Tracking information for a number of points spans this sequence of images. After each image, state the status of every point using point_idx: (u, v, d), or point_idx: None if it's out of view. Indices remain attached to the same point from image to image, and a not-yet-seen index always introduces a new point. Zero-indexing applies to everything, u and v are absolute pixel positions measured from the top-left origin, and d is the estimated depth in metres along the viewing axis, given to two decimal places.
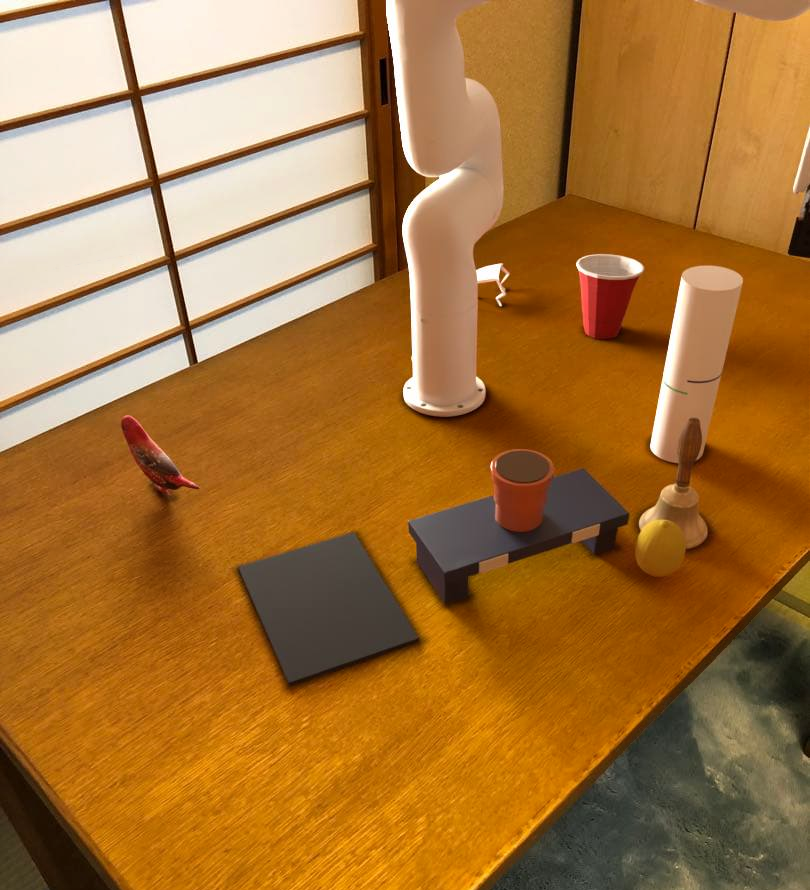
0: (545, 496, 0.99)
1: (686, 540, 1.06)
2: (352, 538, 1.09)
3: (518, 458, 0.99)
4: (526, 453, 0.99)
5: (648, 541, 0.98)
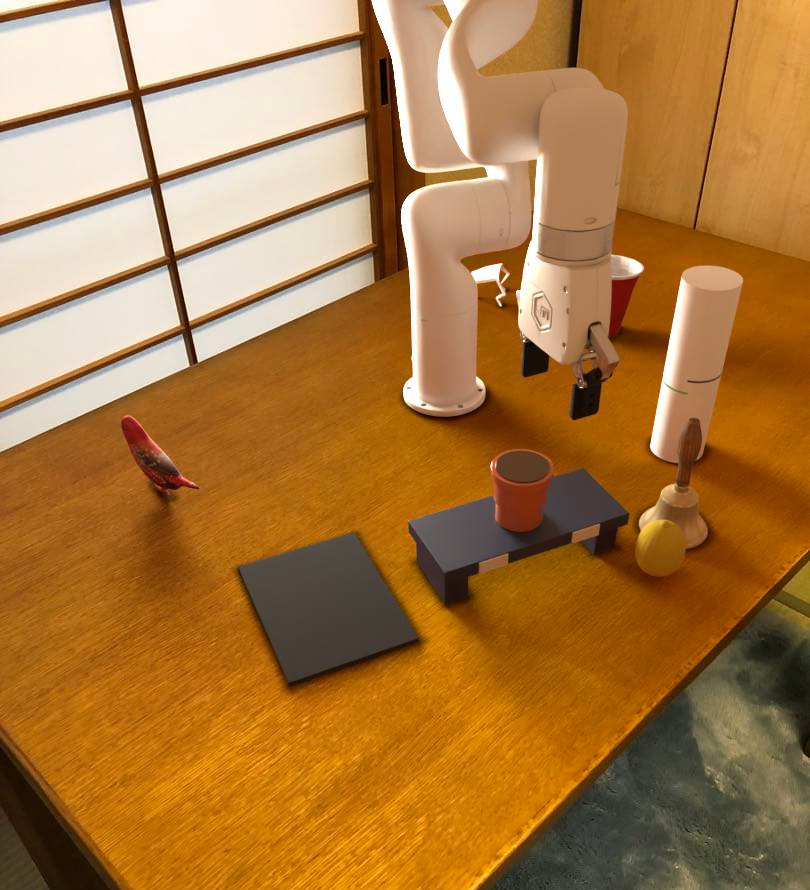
0: (545, 496, 0.99)
1: (686, 540, 1.06)
2: (352, 538, 1.09)
3: (518, 458, 0.99)
4: (526, 453, 0.99)
5: (648, 541, 0.98)
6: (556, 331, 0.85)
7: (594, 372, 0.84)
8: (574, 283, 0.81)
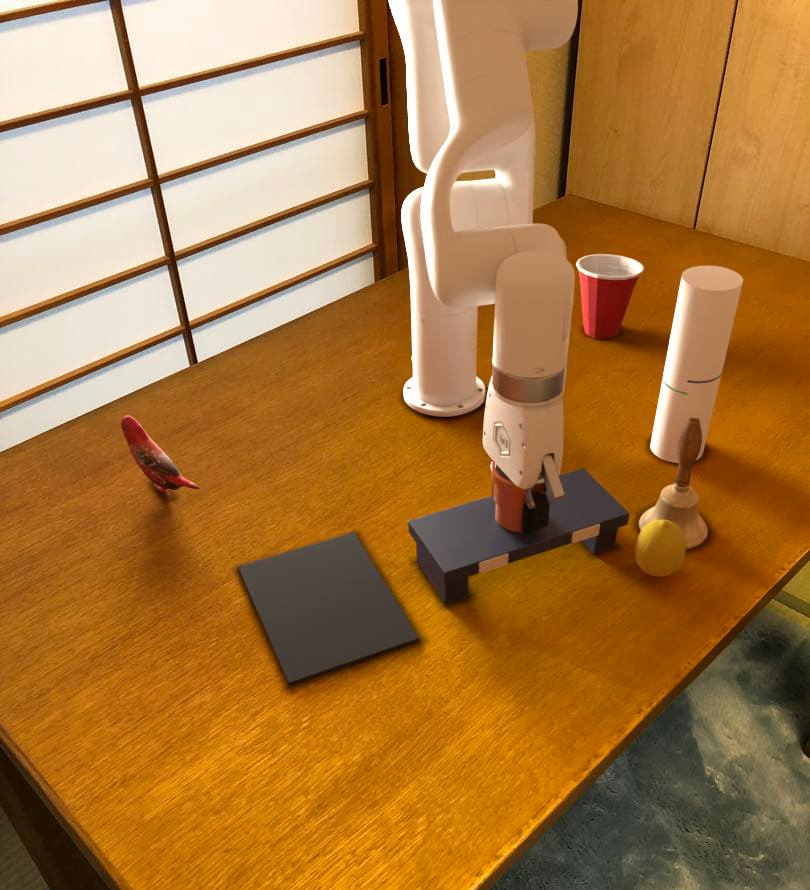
0: None
1: (686, 540, 1.06)
2: (352, 538, 1.09)
3: None
4: None
5: (648, 541, 0.98)
6: (514, 459, 0.93)
7: (540, 497, 0.94)
8: (528, 422, 0.88)
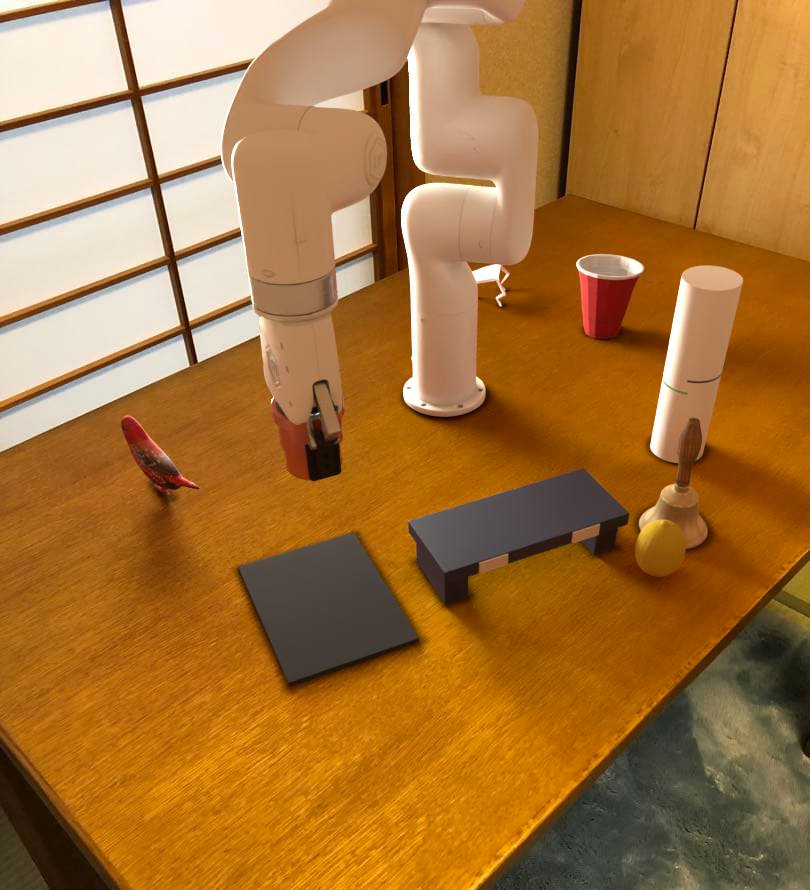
0: None
1: (686, 540, 1.06)
2: (352, 538, 1.09)
3: None
4: None
5: (648, 541, 0.98)
6: (283, 389, 0.78)
7: (317, 434, 0.79)
8: (288, 340, 0.74)
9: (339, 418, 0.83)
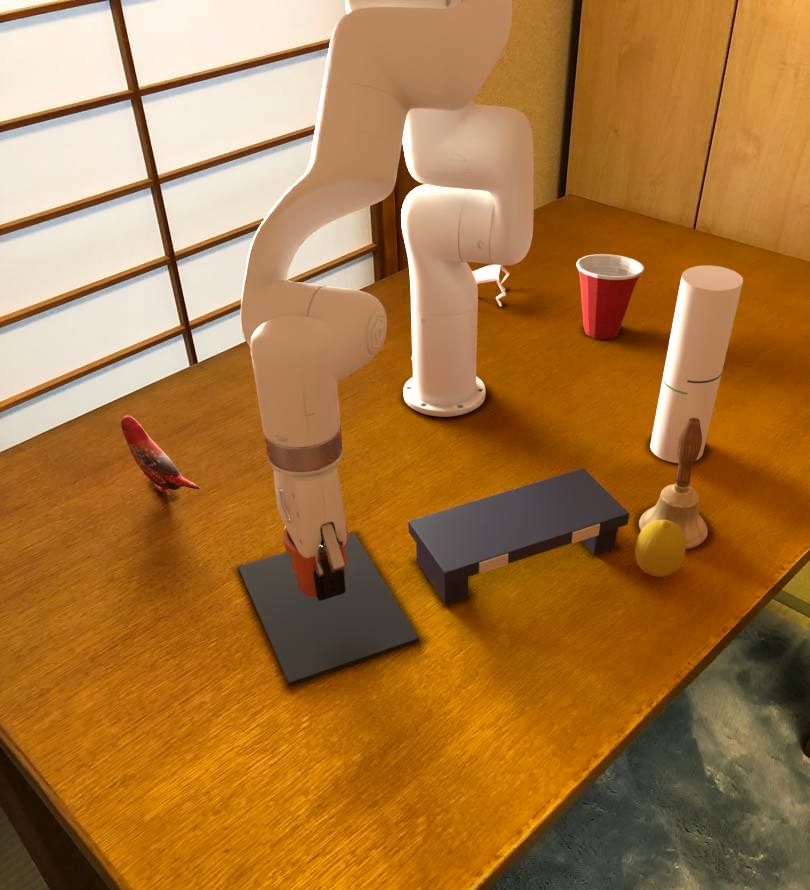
0: None
1: (686, 540, 1.06)
2: (352, 538, 1.09)
3: None
4: None
5: (648, 541, 0.98)
6: (294, 527, 0.89)
7: (324, 566, 0.90)
8: (298, 492, 0.84)
9: (343, 547, 0.93)
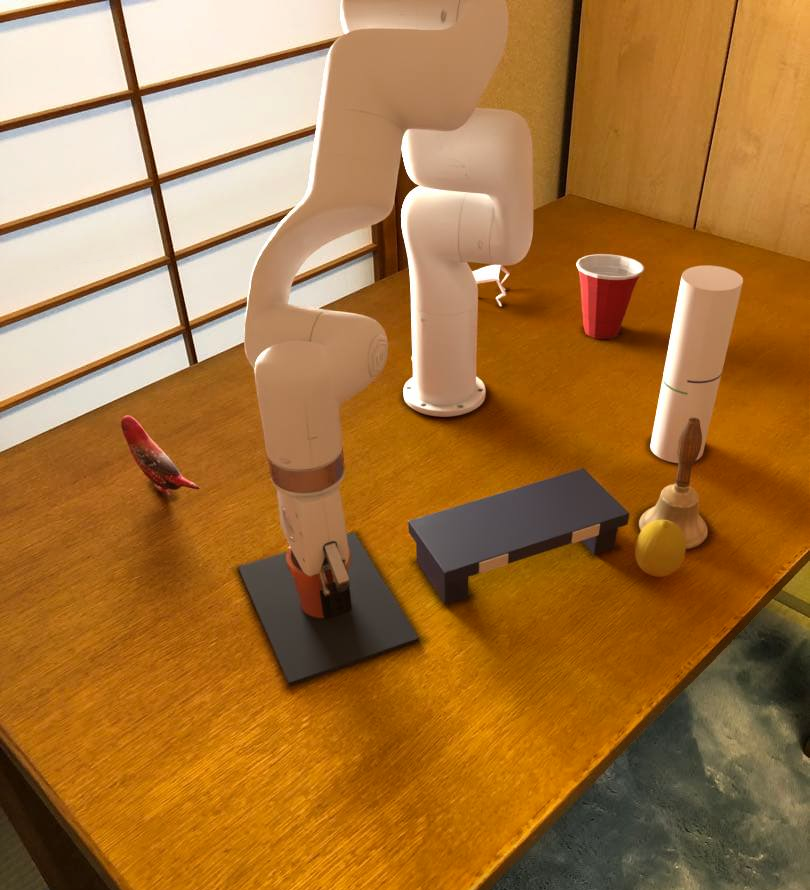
0: None
1: (686, 540, 1.06)
2: (352, 538, 1.09)
3: None
4: None
5: (648, 541, 0.98)
6: (298, 546, 0.91)
7: (331, 586, 0.90)
8: (301, 512, 0.86)
9: (346, 569, 0.95)
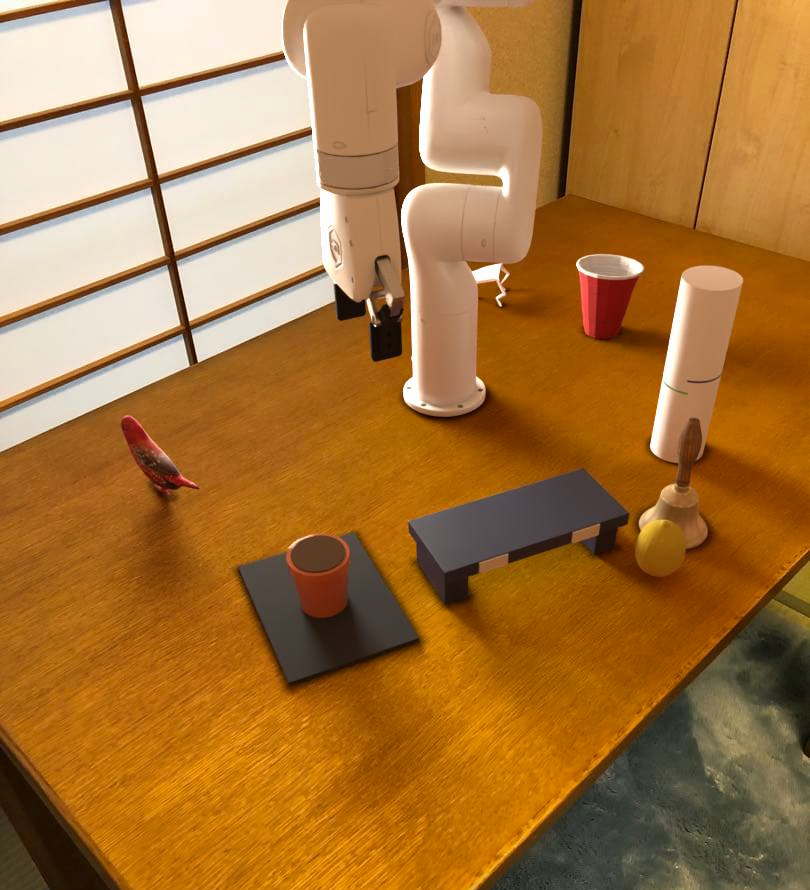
0: (342, 583, 0.97)
1: (686, 540, 1.06)
2: (352, 538, 1.09)
3: (316, 544, 0.97)
4: (325, 539, 0.98)
5: (648, 541, 0.98)
6: (346, 266, 0.82)
7: (383, 308, 0.81)
8: (353, 212, 0.77)
9: (346, 569, 0.95)
